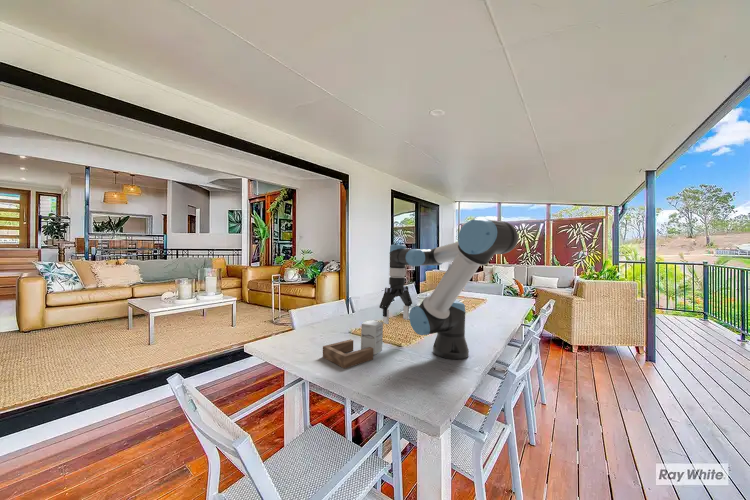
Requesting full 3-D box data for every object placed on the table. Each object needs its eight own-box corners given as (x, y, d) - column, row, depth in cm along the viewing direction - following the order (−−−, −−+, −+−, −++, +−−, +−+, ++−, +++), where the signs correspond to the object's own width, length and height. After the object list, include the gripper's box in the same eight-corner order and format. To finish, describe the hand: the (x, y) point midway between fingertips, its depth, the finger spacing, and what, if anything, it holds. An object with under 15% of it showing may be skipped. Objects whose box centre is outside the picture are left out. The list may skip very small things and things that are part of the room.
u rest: (373, 359, 118) (373, 348, 118) (344, 368, 109) (344, 356, 109) (350, 349, 129) (350, 339, 129) (322, 357, 120) (322, 346, 120)
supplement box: (360, 352, 126) (360, 323, 126) (368, 347, 133) (368, 319, 133) (375, 355, 123) (375, 325, 123) (382, 350, 130) (383, 321, 129)
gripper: (408, 275, 150) (407, 316, 150) (372, 277, 133) (371, 323, 133) (419, 276, 144) (418, 318, 144) (383, 278, 127) (382, 327, 127)
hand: (396, 321), depth 139 cm, fingers open, 13 cm apart
